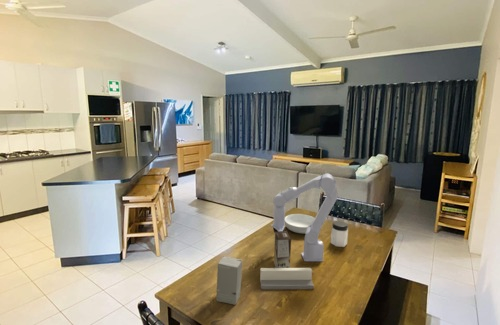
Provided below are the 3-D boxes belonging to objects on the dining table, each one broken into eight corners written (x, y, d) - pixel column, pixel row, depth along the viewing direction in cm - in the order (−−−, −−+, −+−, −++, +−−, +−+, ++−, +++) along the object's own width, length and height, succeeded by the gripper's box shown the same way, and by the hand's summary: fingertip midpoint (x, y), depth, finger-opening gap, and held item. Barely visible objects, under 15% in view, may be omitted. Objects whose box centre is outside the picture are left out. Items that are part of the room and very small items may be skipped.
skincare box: (216, 301, 104) (215, 264, 101) (222, 290, 111) (222, 254, 108) (236, 306, 102) (236, 267, 99) (242, 294, 109) (242, 258, 106)
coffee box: (290, 271, 125) (291, 239, 122) (276, 272, 124) (277, 239, 121) (286, 261, 134) (287, 230, 131) (273, 261, 133) (274, 231, 130)
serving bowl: (278, 231, 167) (278, 221, 166) (292, 221, 184) (293, 211, 183) (309, 240, 155) (310, 229, 154) (322, 228, 172) (323, 218, 171)
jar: (327, 241, 155) (329, 221, 153) (338, 238, 158) (340, 219, 156) (338, 248, 147) (340, 227, 145) (350, 245, 150) (351, 225, 148)
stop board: (310, 280, 118) (310, 267, 117) (313, 289, 112) (314, 276, 111) (260, 280, 118) (260, 268, 116) (261, 289, 112) (261, 276, 111)
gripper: (270, 211, 145) (269, 235, 147) (273, 222, 131) (272, 248, 133) (283, 211, 145) (282, 235, 148) (287, 222, 131) (286, 248, 133)
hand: (278, 241), depth 140 cm, fingers closed
